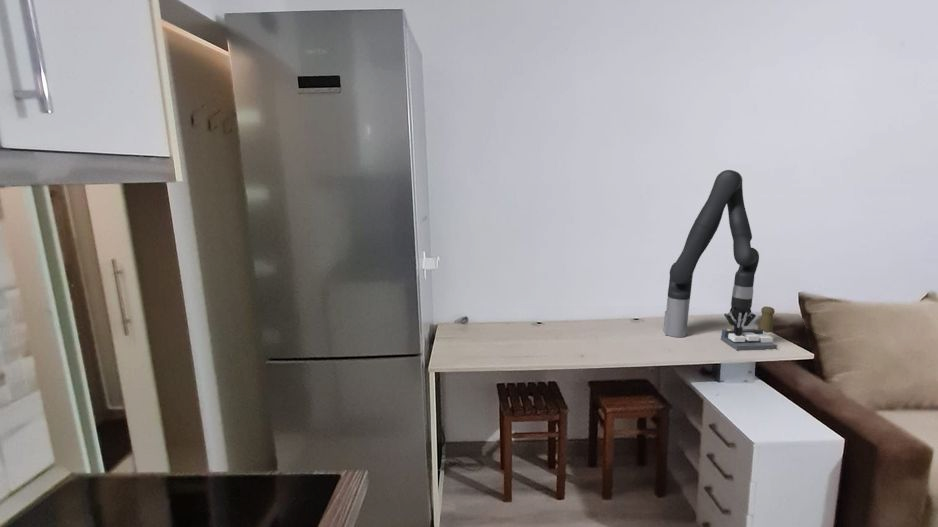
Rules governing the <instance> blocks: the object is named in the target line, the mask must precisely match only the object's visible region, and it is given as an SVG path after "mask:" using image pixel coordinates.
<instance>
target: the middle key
mask: <svg viewBox="0 0 938 527" xmlns="http://www.w3.org/2000/svg"><path fill="white" fill-rule="evenodd" d="M742 335H743V336H744V337H746V338H745V339H746V340H748V341H759V336H758V335H756V334H755V333H753V332H746V333H742Z"/></svg>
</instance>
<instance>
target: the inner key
mask: <svg viewBox="0 0 938 527" xmlns="http://www.w3.org/2000/svg"><path fill="white" fill-rule="evenodd" d="M728 338H729V339H731V340H732V341H734V342H745V338H746V337H744V336H743V335H741V336H736V335H735V334H734V333H729V334H728Z"/></svg>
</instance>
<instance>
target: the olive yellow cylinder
mask: <svg viewBox="0 0 938 527" xmlns="http://www.w3.org/2000/svg"><path fill="white" fill-rule="evenodd" d="M760 311H761V313H762V314H761V317H760V320H759V323H758V327H757V328H760V329H762V330H763V331H764V332H763V333H773V332H774V331H773V330H774V328H773V327H774V326H773V325H774V322H773V321H774V318H773V315H774V314H775V309H774V308H773V307H771V306H763V307H761V309H760Z"/></svg>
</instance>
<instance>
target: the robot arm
mask: <svg viewBox="0 0 938 527" xmlns="http://www.w3.org/2000/svg"><path fill="white" fill-rule="evenodd" d="M713 182H714V183H713V185H712V188H711V189H710V190H711V191H710V192H709V195H708V197H707V200H706V202H705V203H704V205H703V206H702V208H701V209H700V211H699V213H698V215H697V217H696V218H695V220H694V222H693V224H692V226H691V228H690V230H689V232H688V235H687V238H686V241H685V243H684V246H683V249H682V250H681V252H680V255H679V256H678V258H677V260H676V261H675V262H673V264H672V265H671V266H670V269H669V282H668V288H667V290H668V291H667V299H666V310H665V311H664V316H663V317H664V318H663V319H664V321H663V327H662V328H663V329H662V331H663V333H664V335H665V336H669V337H673V338H685V337H686V336H687V332H688V322H689V313H690V312H689V311H690V305H691V304H690V302H691V294H692V286H693V285H692V284H693V276H694V272H695V269H696V266H697V264H698V262H699V260H700V258H701V257H702V255H703V253H704V252H705V251H706V250H707V248H708V246H709V244H710V243H711V241H712V240H713V238H714V236H715V234H716V232H717V231H718V228H719V226H720V224H721V220H722V218H723V214H724V210H725V208H727V214H728V224H729V229H730V233H731V236H732V237H731V238H732V241H733V243H732V246H733V247H732V249H733V258H734V260H735V262H736V264H738V265H739V266H738V270H736V271H735V274H734V280H733V282H734V283H733V286H732V295H731V302H730V306H731V308H730V309H729V312H728V313H724V315H723V316H724V317H725V320H726V321H727V322H728V323H729V324H730V325H731V326H732V327H733V329H734V334H735V335H736V336H741V334H742V330H743V329H744V327H748V326H749V325H750V323H752V322H753V321H754V319H755V318H756V317H757V316H756V315H757V314H754V313H753V312H752V307H753V306H752V305H753V297H754V284H755V283H754V282H755V275H756V271H757V268H758V266H759V262H760V253H759V251H758V250H757V249H756V248H754V247H752V246H751V241H752V239H753V235H752V230H751V226H750V222H749V219H748V214H747V211H746V207H745V201H744V192H743V176H742V175H741V174H740V173H739V172H738V171H736V170H734V169H733V170H731V169H726V170H722V171H721V172H720V173H718V175H716V178H715V180H714V181H713ZM726 206H727V207H726Z"/></svg>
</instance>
